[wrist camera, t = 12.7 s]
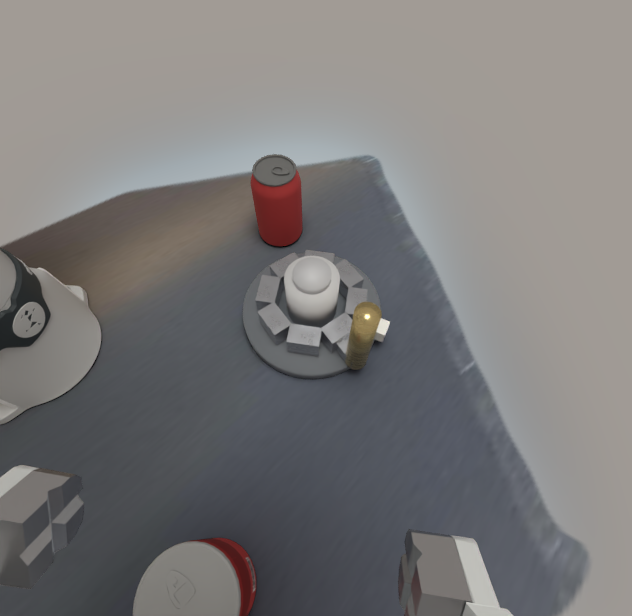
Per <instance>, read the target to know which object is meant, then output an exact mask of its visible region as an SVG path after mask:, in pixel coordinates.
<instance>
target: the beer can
mask: <svg viewBox="0 0 632 616" xmlns="http://www.w3.org/2000/svg"><path fill="white" fill-rule="evenodd" d="M252 171H253V174H252V178H251V188H252V194H253V200H254V205H255V211H256V216H257V222H258V228H259V233H260V236H261V237H262V239H263V240H264V241H265V242H267V243H268V244H271V245H273V246H286V245H289V244H292V243H294V242H295V241H296V240H297V239H298V238H299V237H300V235H301V233H302V199H301V180H300V177H299V173H298V171H297V169H296V165H295V163H294V162H293V161H292V160H291V159H290V158H288V157H285V156H283V155H276V154H274V155H267V156H265V157H262V158H261V159H259V160H258V161H257V162H256V163H255V164H254V166H253V170H252Z"/></svg>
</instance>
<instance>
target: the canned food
mask: <svg viewBox="0 0 632 616" xmlns="http://www.w3.org/2000/svg"><path fill="white" fill-rule="evenodd" d="M255 593H256V574H255V569H254V566H253V563H252V560H251V559H250V557H249V555H248V554H247V552H246V551H245V550H244V549H243V548H242V547H241V546H240V545H239V544H237V543H236V542H234V541H232V540H229V539H225V538H210V539H201V540H192V541H187V542H183V543H180V544H177V545H175V546H173V547H171V548H169V549H167V550H165V551H164V552H163V553H162V554H160V555H159V556H158V557H157V558H156V559H155V560H154V561H153V562H152V563H151V564H150V566H149V567H148V568H147V570H146V572H145V573H144V575H143V576H142V579H141V581H140V583H139V585H138V588H137V591H136V595H135V599H134V606H133V616H248V614H249V612H250V610H251V608H252V605H253V602H254V599H255Z"/></svg>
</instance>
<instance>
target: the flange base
mask: <svg viewBox="0 0 632 616" xmlns="http://www.w3.org/2000/svg"><path fill="white" fill-rule="evenodd" d="M296 255H297V256H298V257H299V259H297V260H295V261H294V262H292V263H291V264H290V265H289V266H288V268H287V269H286V272H285V275H284V284H285V289H284V290H282V293H281V298H280V302H279V306H278V307H279V308H280V310H281V311H282V312H283V314H284V315H285V316H286V317H287V319H288V320H289V321H290V323H291V324H298V325H305V326H311V327H318V328H322V327H323V326H325V325H326V324H328V323H329V322H331V321H332V320H334V319H336V318H337V317H339V316H340V315H342V314H343V313H345V307H346V299H345V297H344V296H343V295H342V294H341V293H340V292H339V284H340V275H339V272H338V270H337V268H336V266H335V265H336V264H338V263H339V262H341V261H343V260H344V259H342V258H339V257H336V256H334V264H333V263H332V262H330V261H329V260H327V259H325V258H323V257H319V256H305V253H300V254H296ZM280 260H281V259H280ZM277 261H279V260H277ZM277 261H276V262H277ZM274 263H275V262H274ZM274 263H272V264H274ZM349 263H350V262H349ZM272 264H270V265H272ZM350 264H351V265H352V267H353V268H354V269H355V270H356V271H357V272H358V273H359V274H360V275H361V276H362V277H363V278H364V281H363V285H362V289H368V291H367V300H366V302H372V303H374V304H376V305H377V306H378V307H379V308H380V310H381V305H380V301H379V297H378V294H377V291H376V289H375V288H374V286H373V284H372V282H371V281H370V280H369V278H368V277H367V276H366V275H365V274H364V273H363V272H362V271H361V270H360V269H359V268H357V267H356V266H355V265H353V264H352V263H350ZM270 265H269V266H268V267H266V268H265V269H264V270H263V271H262V272H261V273H259V274H258V276H257V277H256V278H255V279H254V280H253V282H252V284H251V285H250V287H249V289H248V291H247V293H246V296H245V299H244V304H243V322H244V327H245V330H246V333H247V336H248V339H249V341H250V344H251V346H252V348H253V349H254V350H255V352H256V353H257V355H258V356H259V357H260V358H261V359H262V360H263V361H264V362H265V363H266V364H268V365H269V366H270V367H272V368H273V369H275V370H277V371H279V372H281V373H283V374H285V375H288V376H292V377H295V378H301V379H323V378H328V377H332V376H335V375H338V374H341V373H343V372H345V371H347V370H349V369H350V368H349V367H348V366H347V365H346V363H345V361H344V360H343V359H342V357H341V356H340V355H339V354H338V352H337V351H335V352H333V353H332V354H331V353H330V351H329V350H328V349H327V348H326V346H325V345H324V344H323V343H322V341H321V345H320V351H319V357H318V356H311V355H305V354H298V353H292V352H288V351H287V343H286V341H287V339H286V340H284V341H283V342H281V343H280V344H278V345H276V344H275V342H274V341H273V340H272V338H271V337H270V336H269V334H268V333H267V332H266V330H265V329H264V328H263V326H262V325H261V323H260V320H259V316H258V310H257V306H256V302H255V299H256V296H257V292H258V288H259V285H260V281H261V277H262V275H268V276H271V272H270ZM389 324H390V322H389V321H387V320H384V319H380V322H379V325H378V328H377V331H376V334H375V337H374V340H373V343H374V341H375V340H378V341H380V342H383V339H384V337H385V334H386V332H387V329H388V326H389ZM373 343H372V345H373ZM371 347H372V346H371Z"/></svg>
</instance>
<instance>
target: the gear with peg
mask: <svg viewBox="0 0 632 616" xmlns="http://www.w3.org/2000/svg"><path fill="white" fill-rule="evenodd" d="M334 255H335V254H334V253H326V252H319V251H311V250H306V252H305V256H319V257H323V258H325V259H327V260H329V261H330V262H332V263H333V264H334ZM297 259H299V257H298V256H297V255H296V254H295V253H294V252H293V253H291V254H290V255H288V256H286V257H284V258H282V259H281V260H279V261H277V262H275V263H274V264H272V265H270V272H271V276H268V275H262V277H261V281H260V285H259V288H258V292H257V296H256V299H255V302H256V306H257V310H258V316H259V320H260V323H261V325H262V326H263V328H264V329H265V330H266V332H267V333H268V334H269V336H270V337H271V338H272V340H273V341H274V342H275V344H276V345H278V344H280V343H281V342H283V341H284V340H286V339H287V341H286V343H287V351H288V352H292V353H298V354H305V355H311V356H318V357H319V351H320V345H321V341H322V343H323V344H324V345H325V346H326V348H327V349H328V350H329V351H330V353H331V354H332V353H333V352H335V351H337V352H338V354H339V355H340V356H341V357H342V359H343V360H344V361H345V363H346V365H347V366H348V367H349V368H350V369H353V370H359V369H361V368H363V367H364V366H365V364H366V361H367V358H368V355H369V352H370V349H371V346H372V343H373V340H374V337H375V334H376V331H377V328H378V325H379V322H380V319H381V310H380V308H379V307H378V306H377V305H376V304H374V303H372V302H366V300H367V291H368V289H362V285H363V281H364V278H363V277H362V276H361V275H360V274H359V273H358V272H357V271H356V270H355V269H354V268H353V267H352V265H351V264H350V263H349V262H348V261H347V260H346V259H344V260H343V261H341V262H339V263H338V264H336V265H335V266H336V268H337V270H338V272H339V275H340V284H339V292H340V293H341V294H342V295H343V296H344V297H345V299H346V307H345V313H343V314H342V315H340V316H339V317H337V318H336V319H334V320H332V321H331V322H329V323H328V324H326V325H325V326H323V327H322V328H318V327H311V326H305V325H298V324H291V323H290V321H289V320H288V319H287V317H286V316H285V315H284V314H283V312H282V311H281V310H280V308H279V307H278V306H279V302H280V298H281V293H282V290H284V289H285V284H284V275H285V272H286V269H287V268H288V266H289V265H290V264H291V263H292V262H294V261H295V260H297Z"/></svg>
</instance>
